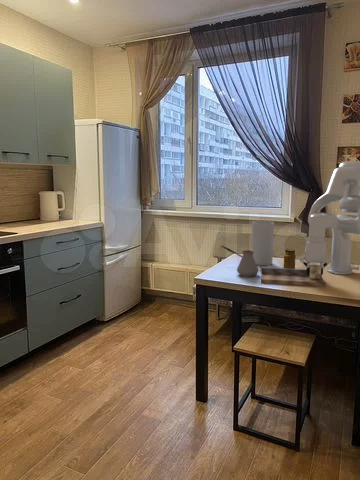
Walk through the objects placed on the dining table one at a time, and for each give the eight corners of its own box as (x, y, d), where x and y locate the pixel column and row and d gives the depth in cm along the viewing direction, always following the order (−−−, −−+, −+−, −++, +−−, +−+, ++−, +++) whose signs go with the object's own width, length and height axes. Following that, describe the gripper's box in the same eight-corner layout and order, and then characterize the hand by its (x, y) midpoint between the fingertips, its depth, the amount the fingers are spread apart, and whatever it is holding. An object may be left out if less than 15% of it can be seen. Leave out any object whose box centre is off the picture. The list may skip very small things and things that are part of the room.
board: (321, 279, 188) (321, 270, 187) (324, 286, 176) (325, 276, 175) (261, 276, 194) (261, 267, 193) (260, 283, 183) (261, 273, 182)
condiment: (280, 269, 208) (281, 248, 205) (294, 268, 209) (295, 248, 207) (286, 273, 201) (287, 251, 198) (300, 272, 202) (302, 250, 200)
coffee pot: (260, 273, 200) (261, 246, 197) (255, 279, 190) (255, 250, 187) (223, 269, 209) (224, 243, 206) (216, 274, 199) (216, 247, 196)
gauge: (318, 275, 186) (319, 264, 185) (321, 281, 177) (322, 269, 176) (308, 275, 187) (309, 263, 186) (310, 280, 178) (311, 268, 177)
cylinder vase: (249, 264, 218) (250, 223, 214) (253, 260, 230) (254, 220, 225) (270, 266, 214) (272, 224, 209) (273, 261, 225) (275, 221, 220)
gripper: (333, 238, 182) (331, 274, 185) (297, 237, 186) (296, 272, 189) (336, 241, 175) (333, 278, 178) (299, 240, 179) (297, 276, 182)
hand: (314, 274), depth 184 cm, fingers closed on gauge, 5 cm apart
